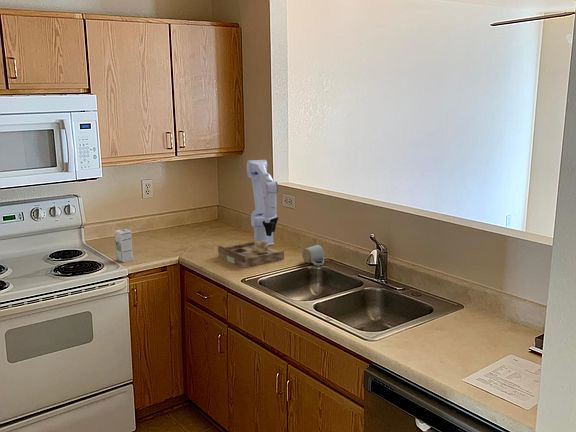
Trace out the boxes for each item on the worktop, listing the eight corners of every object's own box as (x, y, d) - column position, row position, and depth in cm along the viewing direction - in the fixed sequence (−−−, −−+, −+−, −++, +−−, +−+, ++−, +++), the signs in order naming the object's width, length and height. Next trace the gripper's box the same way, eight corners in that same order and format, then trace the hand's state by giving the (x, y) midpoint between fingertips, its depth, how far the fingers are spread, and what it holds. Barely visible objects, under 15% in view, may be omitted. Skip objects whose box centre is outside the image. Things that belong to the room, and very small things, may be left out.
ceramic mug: (301, 261, 270) (301, 245, 268) (315, 258, 274) (315, 243, 272) (314, 267, 261) (314, 251, 259) (328, 264, 266) (329, 248, 264)
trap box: (257, 248, 290) (257, 238, 289) (284, 258, 273) (284, 247, 272) (218, 256, 277) (218, 245, 275) (243, 268, 260) (243, 256, 258)
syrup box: (133, 260, 271) (131, 230, 267) (122, 262, 267) (120, 232, 263) (127, 257, 275) (125, 228, 271) (116, 260, 271) (114, 230, 267)
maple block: (262, 248, 281) (262, 239, 280) (267, 250, 278) (267, 241, 277) (254, 250, 278) (254, 241, 277) (260, 252, 275) (260, 243, 274)
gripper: (266, 203, 285) (266, 229, 288) (258, 209, 271) (259, 237, 274) (279, 203, 284) (279, 230, 287) (273, 209, 270) (273, 237, 273)
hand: (270, 233), depth 280 cm, fingers open, 7 cm apart
